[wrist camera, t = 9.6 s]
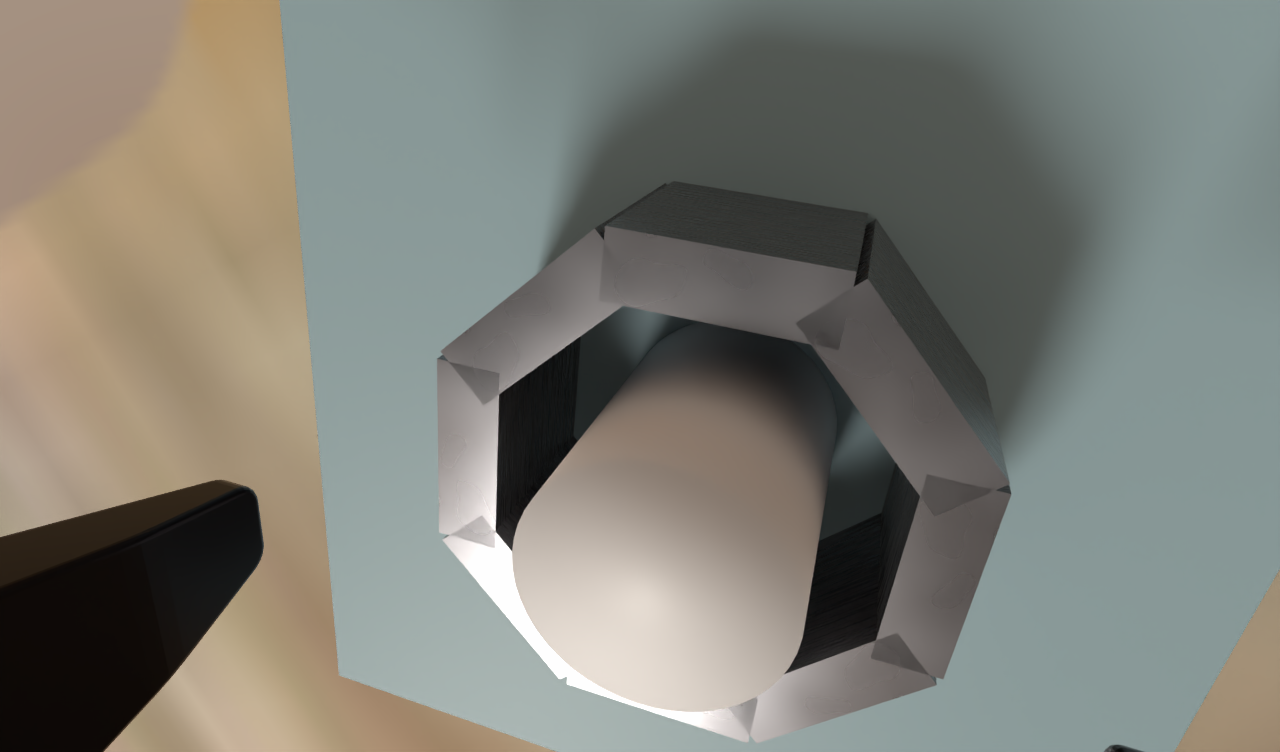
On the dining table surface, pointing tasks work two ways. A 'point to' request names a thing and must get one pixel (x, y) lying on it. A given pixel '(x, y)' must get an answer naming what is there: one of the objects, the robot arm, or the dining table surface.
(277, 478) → the dining table surface
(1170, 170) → the piston plate
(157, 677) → the robot arm
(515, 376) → the ring
